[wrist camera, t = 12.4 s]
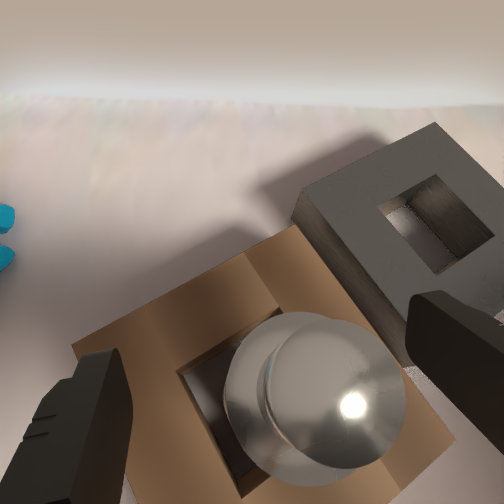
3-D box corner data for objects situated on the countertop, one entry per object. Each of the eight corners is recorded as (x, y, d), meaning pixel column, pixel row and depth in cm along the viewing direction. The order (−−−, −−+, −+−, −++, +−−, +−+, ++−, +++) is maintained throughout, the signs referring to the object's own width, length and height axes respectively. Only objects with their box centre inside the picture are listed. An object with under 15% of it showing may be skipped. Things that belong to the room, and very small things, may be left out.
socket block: (409, 155, 23) (435, 121, 20) (522, 273, 20) (571, 253, 17) (290, 217, 20) (302, 189, 17) (402, 367, 17) (437, 361, 14)
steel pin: (265, 347, 17) (353, 250, 6) (302, 406, 16) (492, 425, 5) (210, 383, 16) (187, 350, 5) (245, 449, 15) (317, 591, 4)
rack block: (284, 249, 19) (295, 224, 16) (415, 432, 16) (456, 440, 13) (96, 354, 16) (71, 344, 13) (210, 610, 13) (208, 670, 10)
